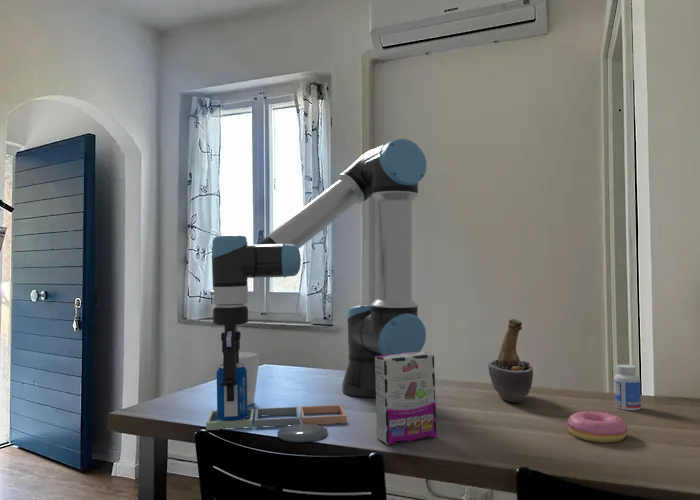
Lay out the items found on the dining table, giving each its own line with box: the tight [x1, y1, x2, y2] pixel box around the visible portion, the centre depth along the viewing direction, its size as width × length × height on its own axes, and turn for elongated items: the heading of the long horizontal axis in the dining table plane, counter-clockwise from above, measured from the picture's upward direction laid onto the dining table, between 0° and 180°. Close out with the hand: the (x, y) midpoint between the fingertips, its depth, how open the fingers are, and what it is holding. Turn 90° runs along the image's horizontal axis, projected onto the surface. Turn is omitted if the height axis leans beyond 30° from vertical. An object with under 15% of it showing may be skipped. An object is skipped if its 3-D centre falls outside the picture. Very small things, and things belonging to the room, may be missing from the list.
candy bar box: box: [375, 351, 437, 446], centre depth 110 cm, size 11×5×16 cm, turn 114°
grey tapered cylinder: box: [221, 351, 259, 406], centre depth 139 cm, size 9×9×12 cm
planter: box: [488, 318, 534, 404], centre depth 140 cm, size 15×17×20 cm
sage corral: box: [205, 408, 255, 431], centre depth 122 cm, size 10×10×2 cm
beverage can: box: [216, 363, 248, 421], centre depth 122 cm, size 6×6×12 cm
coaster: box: [277, 423, 328, 443], centre depth 113 cm, size 10×10×1 cm
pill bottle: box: [613, 364, 642, 411], centre depth 130 cm, size 6×5×10 cm
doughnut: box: [566, 410, 629, 444], centre depth 110 cm, size 11×11×4 cm
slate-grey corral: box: [254, 406, 301, 428], centre depth 123 cm, size 10×10×2 cm
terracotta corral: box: [299, 404, 347, 425], centre depth 125 cm, size 10×10×2 cm
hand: (232, 411), depth 122 cm, fingers closed on beverage can, 6 cm apart
